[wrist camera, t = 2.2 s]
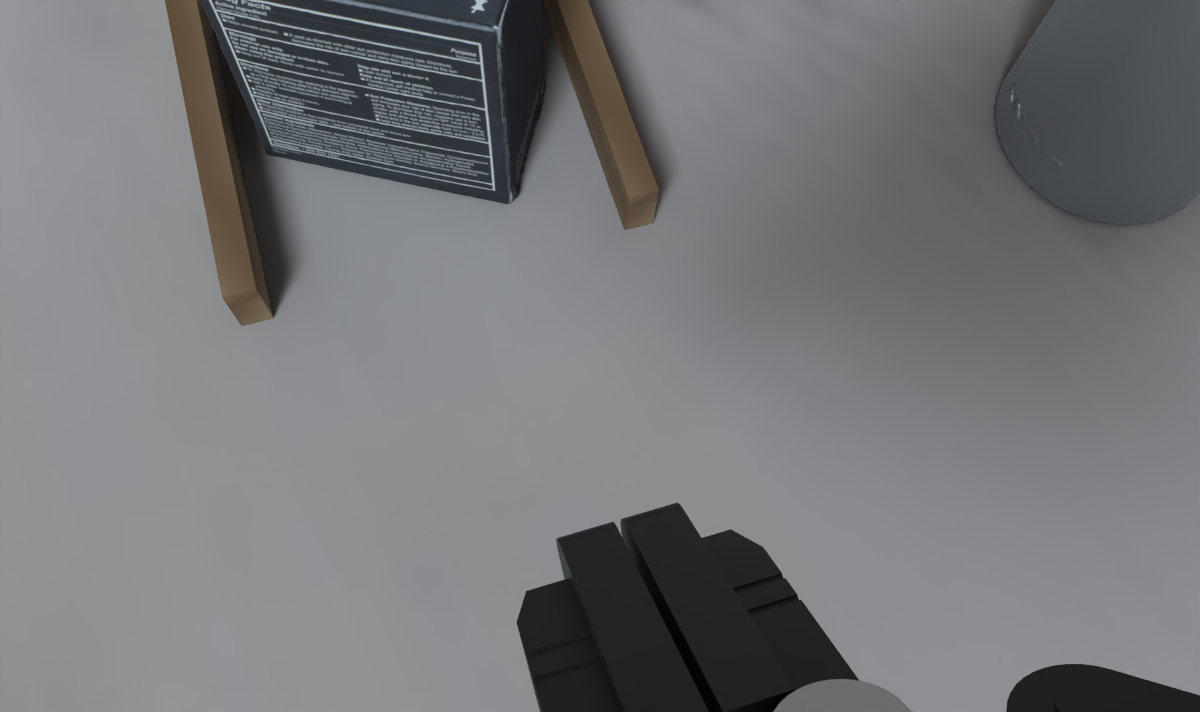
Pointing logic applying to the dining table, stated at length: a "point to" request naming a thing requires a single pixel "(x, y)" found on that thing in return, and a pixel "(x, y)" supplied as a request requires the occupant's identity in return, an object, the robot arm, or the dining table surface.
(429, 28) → the small box
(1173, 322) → the dining table surface
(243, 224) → the walnut tunnel
